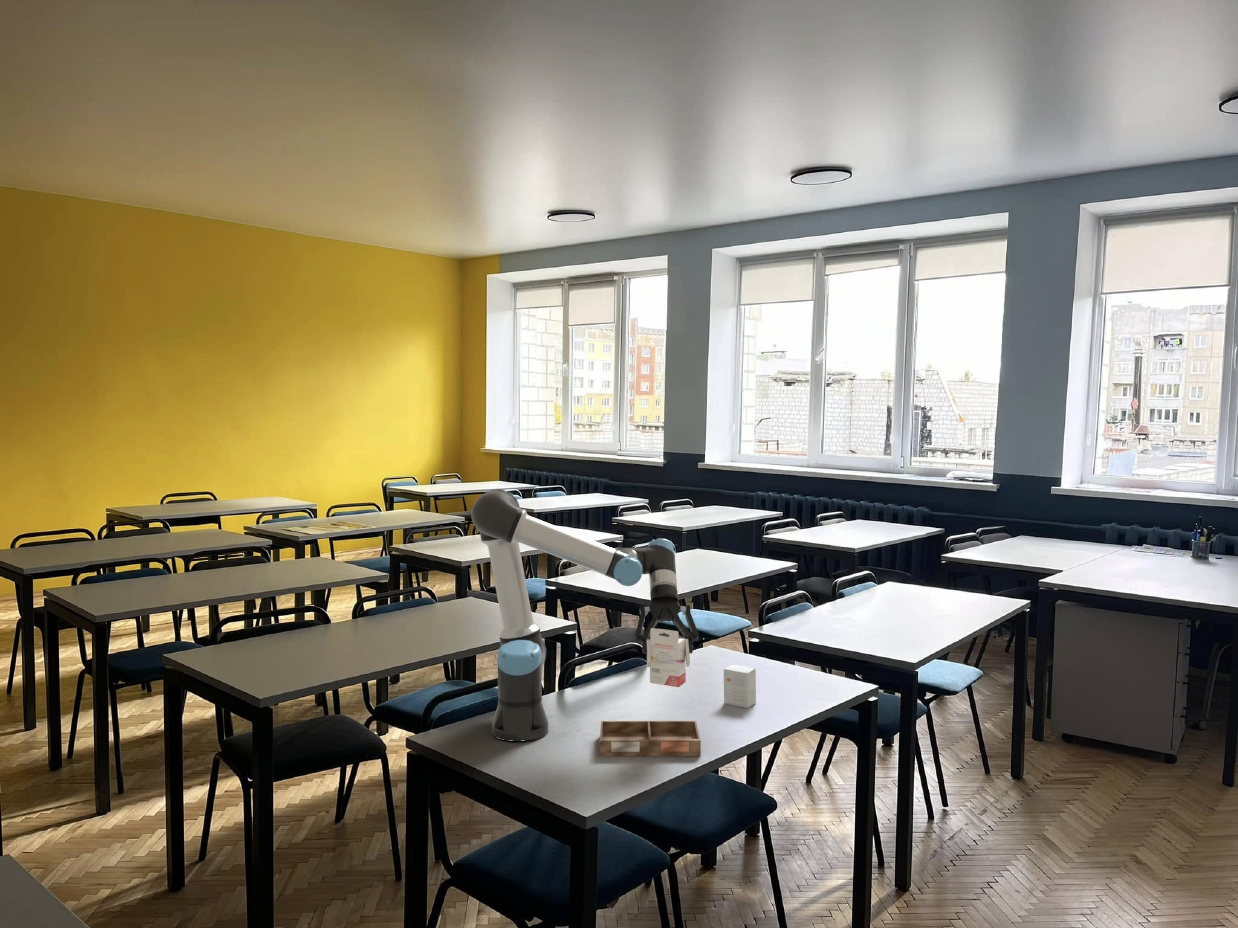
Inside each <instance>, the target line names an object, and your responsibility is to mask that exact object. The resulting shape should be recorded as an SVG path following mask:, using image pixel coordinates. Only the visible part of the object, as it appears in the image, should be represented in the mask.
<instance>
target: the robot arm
mask: <svg viewBox="0 0 1238 928" xmlns="http://www.w3.org/2000/svg"><path fill="white" fill-rule="evenodd" d="M470 513H471V515H470V516H471V520H472V523H473V525H474V527H475V528H476V529H477V530H478V531H479V534H480V535H479V536H480V539H481V543H483V544H485V545H486V546H487V550H488V553H489V554H488V555H489V560H490V565H491V570H492V575H493V580H494V586H495V592H496V596H497V602H498V608H499V613H500V618H501V622H502V623H501V624H502V630H501V631H500V632H499V634H498V636H499V641H500V643H499V644H500V647H499V648H498V650H497V657H496V663H497V707H496V710H495V714H494V717H493V720H492V724H491V734H493V735H494V736H495V737H498V738H500V739H504V740H513V741H521V740H532V741H534V740H533V739H536V740H539V739H541V738H543V737H545V736H546V735H548V733H549V720H548V717H547V714H546V711H545V708H544V705H543V700H542V699H543V697H542V696H543V695H542V693H543V692H542V689H543V688H542V687H543V686H542V673H543V670H544V669H543V668H544V664H545V662H546V658H547V648H546V645H545V642H544V641H543V638H542V633H541V627H540V626H539V624H536V622H534V619H533V614H532V608H531V603H530V598H529V591H528V586H527V581H526V576H525V570H524V565H523V560H522V554H521V549H520V544H523V545H525V546H527V547H531V548H533V549H535V550H538V551H541V552H543V553H546V554H549V555H552V556H554V557H557V558H558V559H561V560H564V561H567V562H570V563H572V564H575V565H576V566H579V567H582V568H585V569H588V570H591V571H593V572H596V573H598V574H601V575H604V576H606V577H607V578H609V579H613V580H615V581H616V582H617V583H619V584H620V585H622V586H625V587H631V586H635V585H637V584H638V582H640V580H641V579H642V576H643V575H648V577H649V590H650V592H649V595H650V596H649V597H650V605H649V606H644V605H640V606H639V618H638V623H637V627H636V631H635V634H634V640H635V643H641V648H642V651H641V652H642V654H643V655H646V664H647V668H650V664H651V659H650V629H651V628H655V627H656V626H657V624H658V623H659V622H668V623H669V622H672V623H673V624H674V625H675V627H676V628H677V629H678V632H680V633H681V635H682V637H683V639H685V656H686V667H690V663H691V657H690V654H693V652H694V644H693V643H694V642H698V641H699V636H700V633H699V632H698V628H697V626H696V623H695V621H694V619H693V615H692V613H691V605H690V604H686V606H684V605H680V603H679V595H678V593H679V592H678V582H677V579H678V578H677V572H676V571H677V570H676V567H677V565H676V555H675V550H674V549H675V548H674V544H673V543H672V541H670V540H668V539H667V538H656V539H652V540H651V541H650V542H649V543H648V544H647V547H615V548H613V547H609V546H608V545H605V544H603V543H600V542H597V541H595V540H592V539H590V538H587V537H585V536H582V535H580V534H577V533H574V532H572V531H569V530H567V529H564V528H562V527H560V526H557V525H555V524H551V523H549V522H547V521H543V520H541V519H539V518H536V517H533V516H531V515H529V514H528V513H527V510H526V509H525V508H521V507H520V504H519V501H518V499H517V497H516V496H515V495H514V494H513V493H511V492H509V491H508V490H505V489H501V488H495V489H491V490H487V491H486V492H485V493H483V494H482V495H480V496H479V497H478V498H477V499H476V500H475V501H474V503H473V504H472V508H471V512H470ZM519 543H520V544H519ZM680 612H681V613H682V614H683V615H684V616H685V620H686V622H687V626H688V628H689V629H687V627H686V625H685V624H684V622H683V621H682V619H681V618H680V615H679V613H680ZM649 613H651V615H652V619H651V621H650V622H649V623H648V626H647V628H646V629H645V631H644V633H643V635H642V631H643V628H644V623H645V618H646V616H647V615H648V614H649ZM655 629H656V628H655ZM493 735H492V736H493ZM494 736H493V737H494ZM495 737H494V738H495ZM540 737H541V738H540ZM538 738H539V739H538Z"/></svg>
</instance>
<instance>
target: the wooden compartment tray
mask: <svg viewBox="0 0 1238 928" xmlns="http://www.w3.org/2000/svg"><path fill="white" fill-rule="evenodd" d="M701 744H702V741H701V736H700V732H699V728H698V723H697V720H601V721H600V731H599V757H701V752H702V750H701V747H702V746H701Z"/></svg>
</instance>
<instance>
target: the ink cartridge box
mask: <svg viewBox="0 0 1238 928" xmlns="http://www.w3.org/2000/svg"><path fill="white" fill-rule="evenodd" d="M664 633H665V635H668V636H665V635H664ZM660 634H661V635H660ZM662 634H663V635H662ZM649 639H650V659H651V664H650V667H649V683H650V684H654V685H655V684H656V685H661V686H667V687H674V688H680V687H681V686H682V685H684V684H685V683H686V682H687V681H686V680H687V679H686V677H687V674H686V670H687V669H686V656H685V638H684V637H683V638H682V637H679V630H678V631H677V630H672V629H671V630H670V629H664V628H662V629H661V628H651V629H650V637H649Z"/></svg>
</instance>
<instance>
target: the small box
mask: <svg viewBox="0 0 1238 928" xmlns="http://www.w3.org/2000/svg"><path fill="white" fill-rule="evenodd" d="M756 670H757V669H756V668H755V667H751V666H750V667H749V666H744V665H739V664H738V665H737V664H731V665H729V666H726V667H725V668H723V704H725V705H730V706H736V707H740V708H745V709H749V708H751V707H752V706H753V705H754V704H756V703H757V683H756V682H757V675H756V674H757V671H756Z"/></svg>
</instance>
